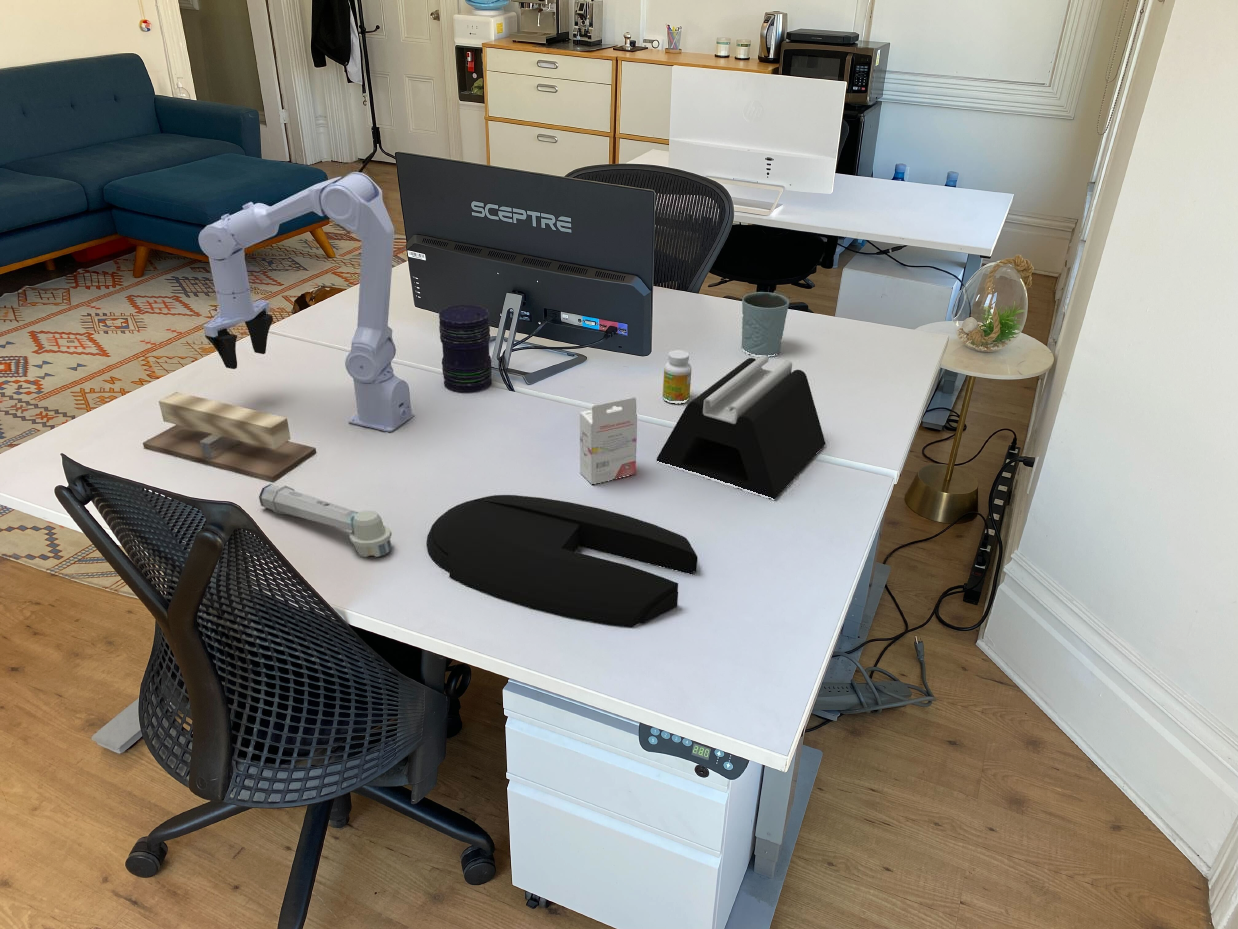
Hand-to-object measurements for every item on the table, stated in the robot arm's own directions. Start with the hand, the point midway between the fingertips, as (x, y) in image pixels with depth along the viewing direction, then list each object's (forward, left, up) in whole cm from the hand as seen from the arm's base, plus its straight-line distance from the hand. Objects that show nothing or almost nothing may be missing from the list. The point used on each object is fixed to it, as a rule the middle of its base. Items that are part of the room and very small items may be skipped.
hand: (246, 360), depth 170 cm
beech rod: (-8, +15, -6) cm, 18 cm away
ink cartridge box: (-70, -5, -10) cm, 71 cm away
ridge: (-7, +15, -10) cm, 19 cm away
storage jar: (-30, -27, -10) cm, 42 cm away
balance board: (-7, +15, -10) cm, 19 cm away
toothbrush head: (-38, +28, -10) cm, 48 cm away
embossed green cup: (-80, -70, -10) cm, 107 cm away
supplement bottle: (-71, -38, -10) cm, 82 cm away
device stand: (-90, -22, -10) cm, 93 cm away
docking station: (-73, +20, -11) cm, 76 cm away
